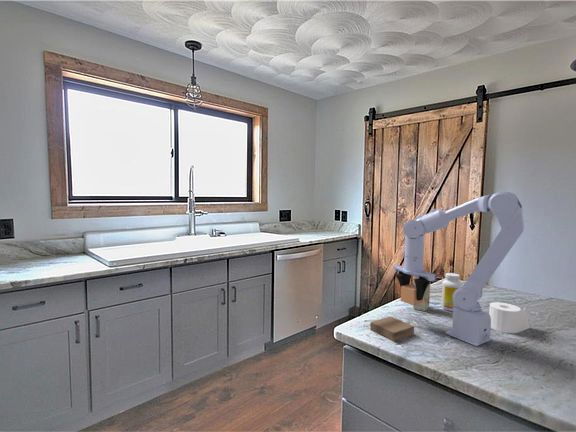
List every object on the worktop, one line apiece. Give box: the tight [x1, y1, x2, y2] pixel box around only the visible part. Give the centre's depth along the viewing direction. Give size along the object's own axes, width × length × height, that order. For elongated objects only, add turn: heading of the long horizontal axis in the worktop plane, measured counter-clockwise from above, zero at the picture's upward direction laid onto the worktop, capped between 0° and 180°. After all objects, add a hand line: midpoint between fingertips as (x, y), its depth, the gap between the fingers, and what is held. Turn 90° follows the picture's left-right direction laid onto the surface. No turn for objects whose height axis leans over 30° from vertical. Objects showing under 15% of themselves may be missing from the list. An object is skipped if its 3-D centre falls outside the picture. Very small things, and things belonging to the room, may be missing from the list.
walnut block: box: [369, 315, 415, 342], centre depth 99 cm, size 9×9×3 cm
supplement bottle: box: [440, 272, 462, 312], centre depth 119 cm, size 7×7×13 cm
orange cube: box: [400, 283, 424, 307], centre depth 106 cm, size 5×5×5 cm
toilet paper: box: [488, 301, 530, 334], centre depth 104 cm, size 8×11×7 cm
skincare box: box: [412, 276, 431, 312], centre depth 120 cm, size 6×4×12 cm
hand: (412, 297), depth 106 cm, fingers closed on orange cube, 5 cm apart
